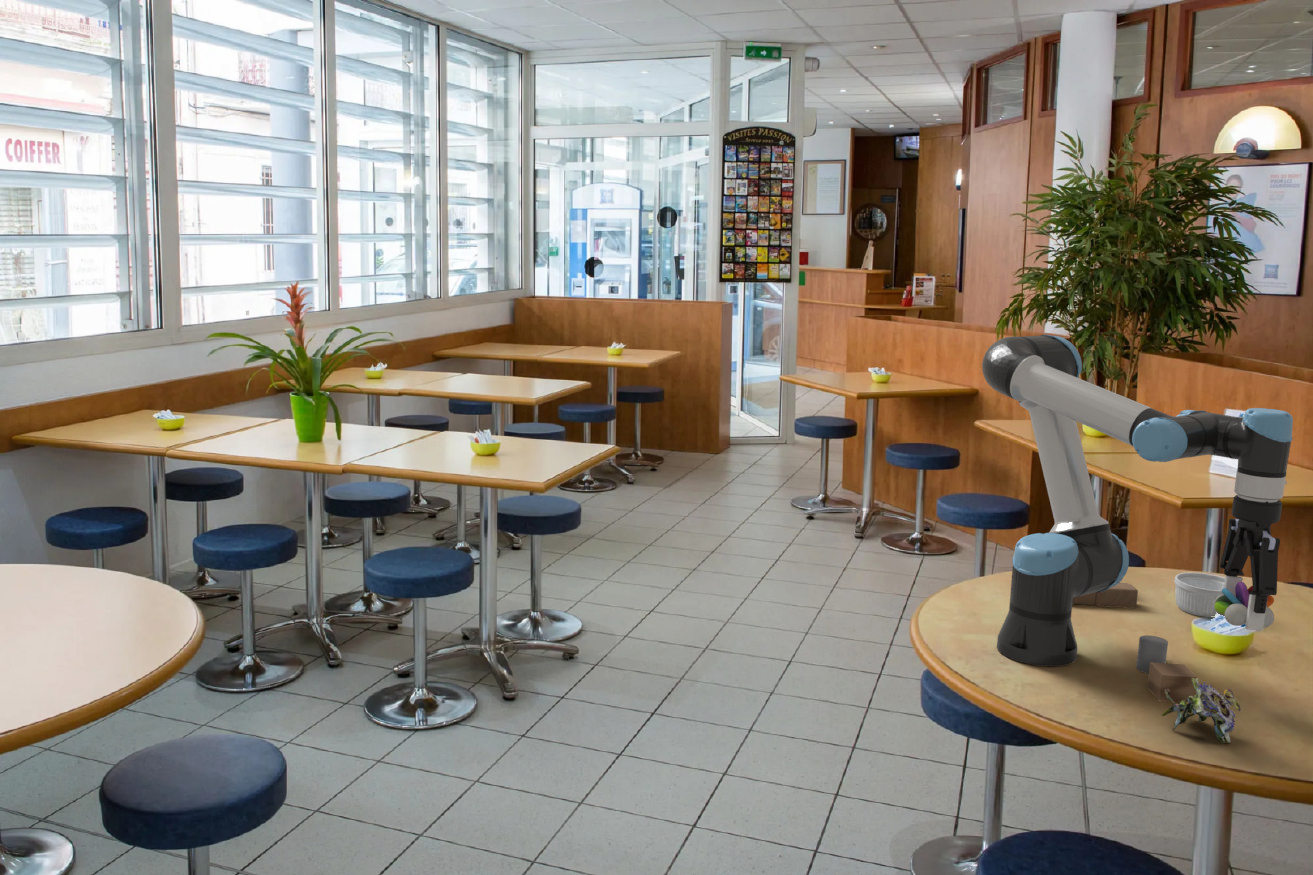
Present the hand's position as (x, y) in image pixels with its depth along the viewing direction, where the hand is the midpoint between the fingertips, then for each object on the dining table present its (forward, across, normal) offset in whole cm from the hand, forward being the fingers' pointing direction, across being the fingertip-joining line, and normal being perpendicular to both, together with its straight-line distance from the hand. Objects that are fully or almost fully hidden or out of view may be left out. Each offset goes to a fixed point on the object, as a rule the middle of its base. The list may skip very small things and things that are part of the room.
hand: (1241, 619), depth 191 cm
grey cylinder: (+15, +12, +10) cm, 21 cm away
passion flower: (+15, -16, +13) cm, 26 cm away
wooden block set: (+16, +58, +7) cm, 60 cm away
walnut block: (+15, 0, +11) cm, 19 cm away
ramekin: (+15, +50, -16) cm, 55 cm away
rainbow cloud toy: (+1, 0, 0) cm, 1 cm away
